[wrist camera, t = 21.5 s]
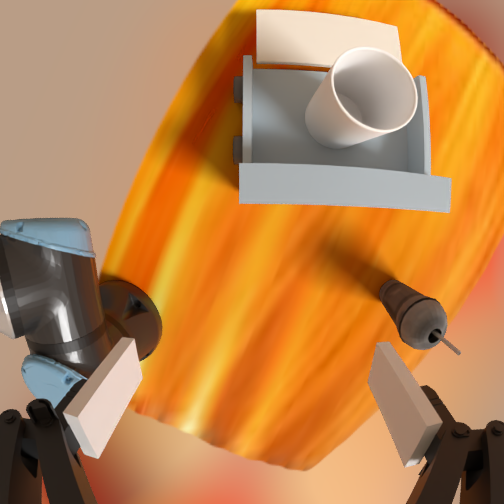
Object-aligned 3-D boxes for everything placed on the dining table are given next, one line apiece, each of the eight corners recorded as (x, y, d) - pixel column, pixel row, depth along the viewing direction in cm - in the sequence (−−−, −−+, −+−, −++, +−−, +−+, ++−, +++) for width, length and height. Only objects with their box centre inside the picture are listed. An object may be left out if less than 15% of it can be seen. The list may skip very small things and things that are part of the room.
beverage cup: (376, 269, 45) (438, 326, 26) (413, 273, 45) (483, 324, 26) (367, 311, 47) (417, 382, 27) (404, 312, 47) (462, 377, 27)
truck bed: (235, 195, 43) (223, 203, 30) (236, 78, 39) (225, 38, 25) (409, 202, 42) (459, 213, 29) (407, 93, 38) (453, 69, 24)
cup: (303, 89, 35) (327, 40, 20) (361, 94, 35) (412, 54, 20) (305, 147, 37) (333, 127, 22) (364, 150, 37) (421, 137, 21)
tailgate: (256, 61, 34) (256, 9, 31) (256, 64, 35) (256, 13, 32) (403, 77, 33) (397, 26, 31) (400, 79, 34) (394, 29, 32)
